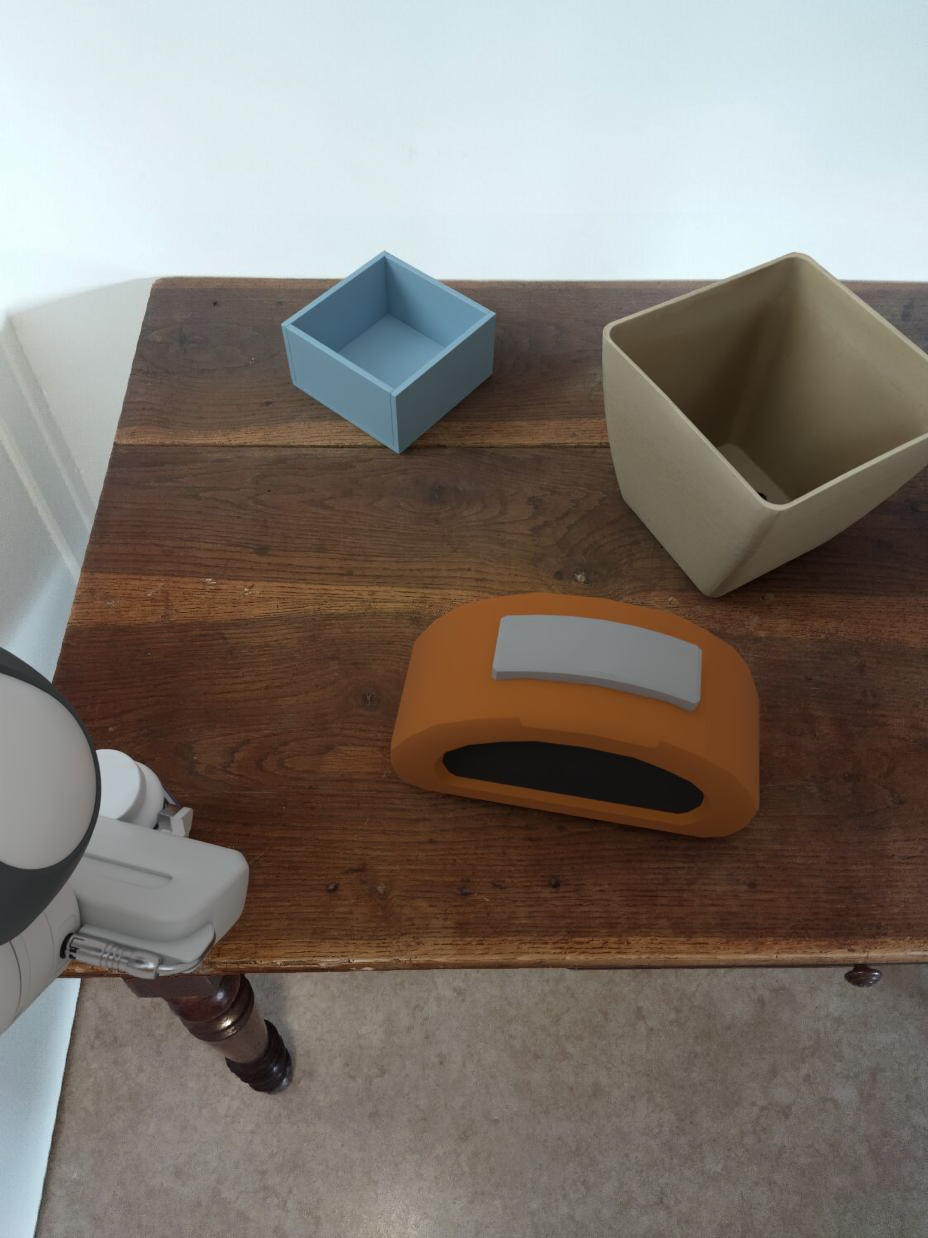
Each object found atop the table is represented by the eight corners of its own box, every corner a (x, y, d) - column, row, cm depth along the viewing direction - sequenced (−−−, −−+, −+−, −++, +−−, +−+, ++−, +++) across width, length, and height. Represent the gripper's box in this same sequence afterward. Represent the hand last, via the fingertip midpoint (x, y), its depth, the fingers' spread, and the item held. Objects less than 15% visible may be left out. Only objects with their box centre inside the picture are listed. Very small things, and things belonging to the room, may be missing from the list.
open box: (292, 384, 82) (280, 323, 76) (388, 311, 87) (384, 249, 81) (399, 454, 78) (395, 396, 72) (492, 373, 83) (496, 313, 77)
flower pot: (738, 405, 82) (802, 244, 67) (885, 551, 73) (993, 404, 59) (567, 483, 76) (596, 327, 62) (703, 650, 68) (773, 515, 54)
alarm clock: (391, 793, 62) (376, 683, 47) (417, 680, 66) (410, 549, 52) (729, 851, 60) (819, 756, 46) (731, 731, 65) (814, 610, 50)
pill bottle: (95, 816, 59) (38, 760, 51) (179, 785, 61) (137, 725, 52) (112, 897, 57) (56, 851, 48) (200, 862, 58) (160, 812, 49)
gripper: (192, 924, 39) (294, 796, 53) (-222, 815, 41) (-21, 718, 55) (176, 1043, 41) (280, 889, 54) (-221, 932, 43) (-27, 810, 56)
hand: (126, 802), depth 54 cm, fingers closed on pill bottle, 6 cm apart
